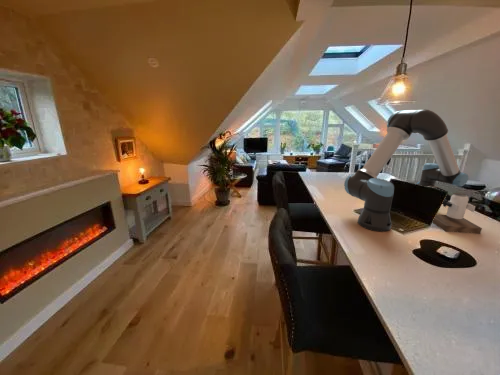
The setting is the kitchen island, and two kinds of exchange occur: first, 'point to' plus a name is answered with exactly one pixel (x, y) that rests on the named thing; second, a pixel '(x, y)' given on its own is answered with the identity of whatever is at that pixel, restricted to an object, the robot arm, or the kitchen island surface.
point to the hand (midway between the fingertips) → (465, 208)
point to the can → (462, 202)
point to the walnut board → (456, 225)
